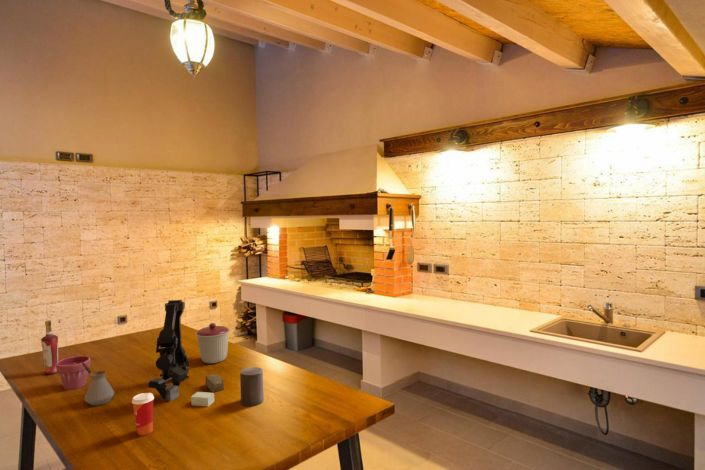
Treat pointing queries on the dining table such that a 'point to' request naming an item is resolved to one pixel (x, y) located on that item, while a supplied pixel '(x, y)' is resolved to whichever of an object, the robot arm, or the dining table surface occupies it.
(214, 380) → the stone block
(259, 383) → the pillar candle
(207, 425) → the dining table surface
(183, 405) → the dining table surface
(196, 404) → the beige brick
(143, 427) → the paper cup
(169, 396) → the gray cube
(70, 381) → the plant pot
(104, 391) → the coffee pot
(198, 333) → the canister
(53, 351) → the liquor
